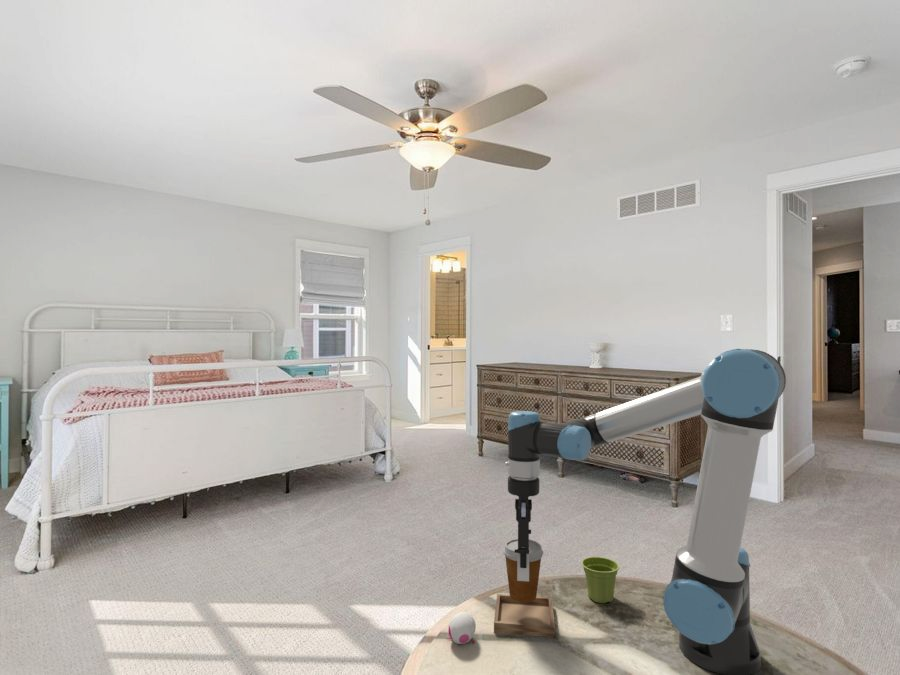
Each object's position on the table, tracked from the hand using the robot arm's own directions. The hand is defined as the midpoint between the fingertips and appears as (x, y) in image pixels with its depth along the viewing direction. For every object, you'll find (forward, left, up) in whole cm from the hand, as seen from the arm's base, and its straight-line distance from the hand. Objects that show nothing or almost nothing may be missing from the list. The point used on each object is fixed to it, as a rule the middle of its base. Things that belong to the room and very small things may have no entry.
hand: (523, 570), depth 119 cm
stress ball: (+14, +11, -12) cm, 21 cm away
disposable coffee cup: (0, 0, -6) cm, 6 cm away
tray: (0, 0, -11) cm, 11 cm away
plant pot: (-20, -13, -12) cm, 26 cm away
